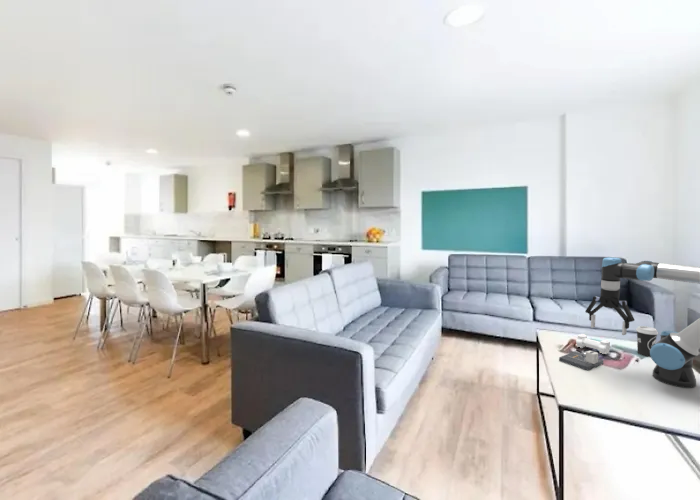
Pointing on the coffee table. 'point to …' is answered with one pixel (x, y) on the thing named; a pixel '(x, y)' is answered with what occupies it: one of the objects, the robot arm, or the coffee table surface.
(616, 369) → the coffee table surface
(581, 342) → the bone shaped toy
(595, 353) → the block
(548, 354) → the coffee table surface
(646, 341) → the coffee cup
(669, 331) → the robot arm
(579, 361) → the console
